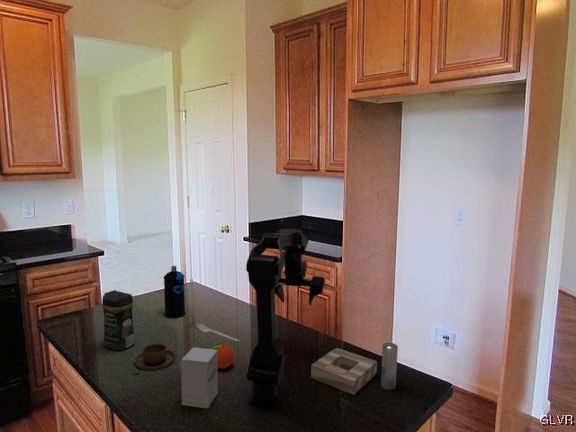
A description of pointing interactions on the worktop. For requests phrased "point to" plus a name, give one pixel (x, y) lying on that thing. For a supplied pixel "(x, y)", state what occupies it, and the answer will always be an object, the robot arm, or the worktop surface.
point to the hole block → (344, 370)
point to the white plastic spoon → (213, 331)
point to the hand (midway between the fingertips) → (296, 303)
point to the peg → (389, 366)
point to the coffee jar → (118, 320)
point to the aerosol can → (174, 294)
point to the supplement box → (199, 377)
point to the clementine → (224, 355)
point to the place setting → (154, 357)
